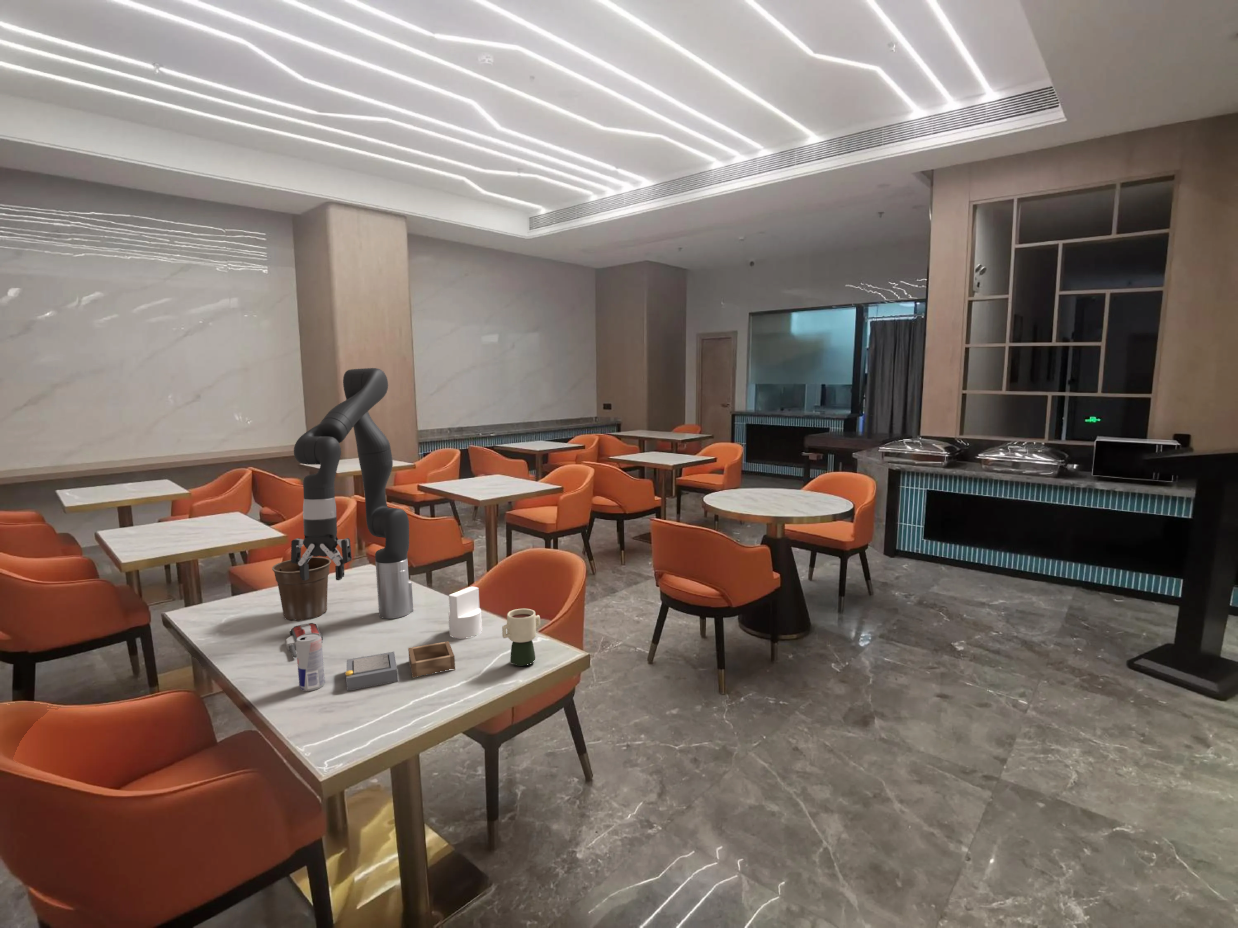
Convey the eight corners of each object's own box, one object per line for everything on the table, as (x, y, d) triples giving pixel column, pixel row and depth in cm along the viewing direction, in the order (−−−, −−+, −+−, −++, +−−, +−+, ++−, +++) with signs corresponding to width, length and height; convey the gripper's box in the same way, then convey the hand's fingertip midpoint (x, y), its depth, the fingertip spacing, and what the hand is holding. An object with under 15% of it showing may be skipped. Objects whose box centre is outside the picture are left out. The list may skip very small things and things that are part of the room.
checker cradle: (394, 662, 156) (394, 649, 156) (397, 681, 146) (396, 666, 146) (346, 671, 152) (345, 657, 152) (346, 690, 142) (345, 675, 142)
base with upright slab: (465, 640, 169) (463, 598, 168) (442, 634, 174) (440, 593, 173) (488, 629, 177) (486, 589, 176) (466, 623, 182) (464, 584, 180)
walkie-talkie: (282, 637, 175) (290, 662, 158) (281, 622, 174) (289, 646, 158) (316, 630, 180) (328, 654, 163) (315, 616, 179) (326, 638, 163)
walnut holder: (449, 653, 161) (448, 641, 161) (455, 669, 152) (454, 655, 152) (409, 661, 157) (408, 647, 157) (412, 677, 148) (411, 663, 148)
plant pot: (343, 612, 193) (340, 562, 191) (289, 628, 181) (284, 574, 179) (321, 601, 203) (317, 553, 201) (268, 615, 191) (263, 565, 190)
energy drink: (305, 681, 147) (301, 633, 146) (328, 680, 148) (324, 632, 146) (295, 692, 142) (291, 642, 140) (319, 690, 142) (315, 641, 141)
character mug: (533, 652, 161) (531, 604, 160) (549, 661, 156) (547, 611, 154) (496, 665, 154) (494, 614, 153) (511, 674, 149) (509, 622, 147)
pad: (388, 659, 154) (387, 653, 154) (389, 672, 147) (389, 666, 147) (354, 665, 151) (353, 659, 151) (354, 678, 144) (353, 672, 144)
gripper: (354, 513, 158) (356, 575, 159) (299, 513, 159) (302, 575, 160) (341, 518, 151) (343, 583, 152) (283, 518, 151) (286, 583, 152)
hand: (322, 579), depth 156 cm, fingers open, 8 cm apart
